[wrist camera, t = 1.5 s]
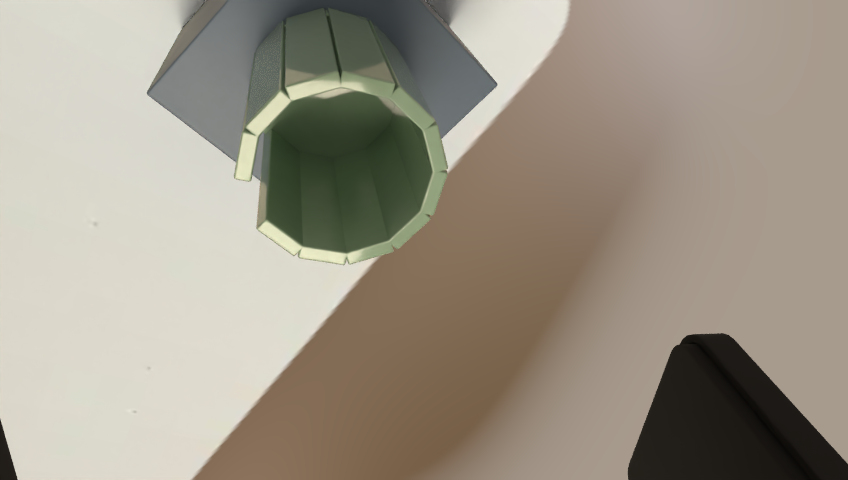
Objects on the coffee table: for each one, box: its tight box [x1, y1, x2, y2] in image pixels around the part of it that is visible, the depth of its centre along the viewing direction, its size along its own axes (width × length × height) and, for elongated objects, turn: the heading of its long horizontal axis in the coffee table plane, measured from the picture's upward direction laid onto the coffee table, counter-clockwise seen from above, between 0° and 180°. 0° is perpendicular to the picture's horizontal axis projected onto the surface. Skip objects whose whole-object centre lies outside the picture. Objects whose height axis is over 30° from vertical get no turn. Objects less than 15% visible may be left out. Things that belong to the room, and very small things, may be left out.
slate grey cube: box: [147, 0, 497, 180], centre depth 25 cm, size 8×8×8 cm
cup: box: [234, 8, 448, 265], centre depth 19 cm, size 5×5×6 cm
